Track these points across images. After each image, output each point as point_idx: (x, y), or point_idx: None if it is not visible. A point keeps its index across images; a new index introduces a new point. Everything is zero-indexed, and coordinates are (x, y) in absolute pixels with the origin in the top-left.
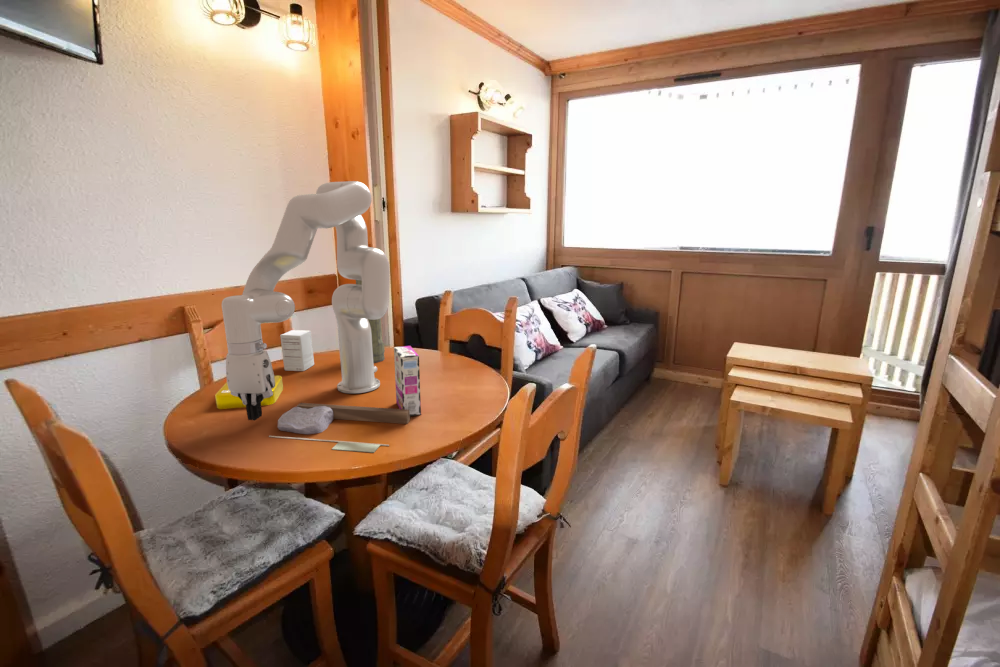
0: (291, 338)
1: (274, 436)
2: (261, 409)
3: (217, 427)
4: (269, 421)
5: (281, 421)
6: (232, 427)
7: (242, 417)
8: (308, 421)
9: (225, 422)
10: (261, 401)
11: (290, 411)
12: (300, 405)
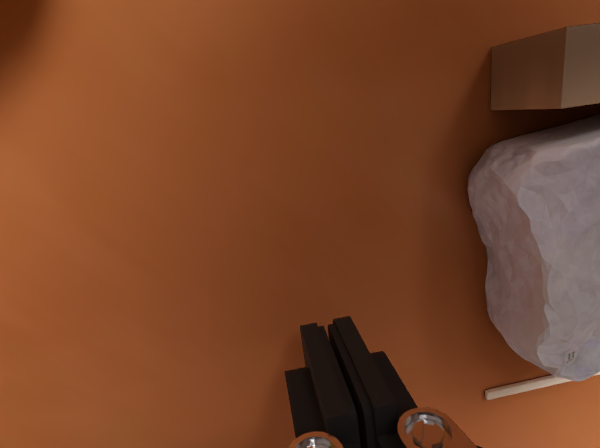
0: None
1: (518, 390)
2: (396, 372)
3: (88, 424)
4: (349, 244)
5: (568, 361)
6: (185, 390)
7: (94, 254)
8: None
9: (59, 357)
10: (433, 420)
11: (577, 241)
12: (594, 94)
